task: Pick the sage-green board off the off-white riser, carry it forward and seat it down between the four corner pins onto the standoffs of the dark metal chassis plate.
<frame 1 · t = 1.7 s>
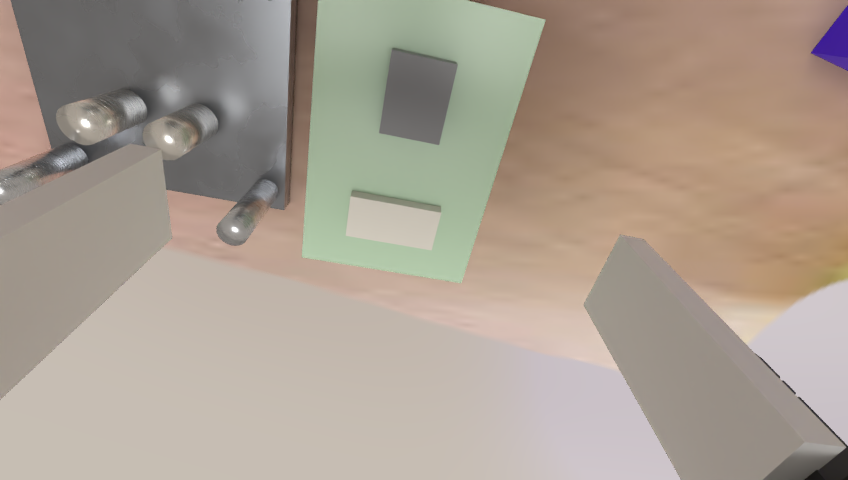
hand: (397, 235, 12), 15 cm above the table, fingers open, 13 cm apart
chassis: (168, 37, 22), on the table
board: (407, 135, 19), point 6 cm above the table, touching riser
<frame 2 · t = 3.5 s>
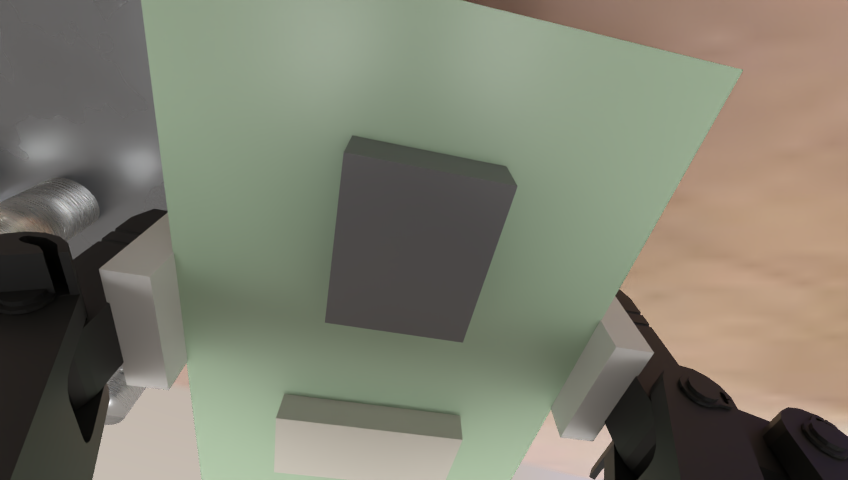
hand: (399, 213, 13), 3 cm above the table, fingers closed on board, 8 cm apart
chassis: (7, 73, 14), on the table
board: (395, 259, 11), point 6 cm above the table, touching gripper, riser
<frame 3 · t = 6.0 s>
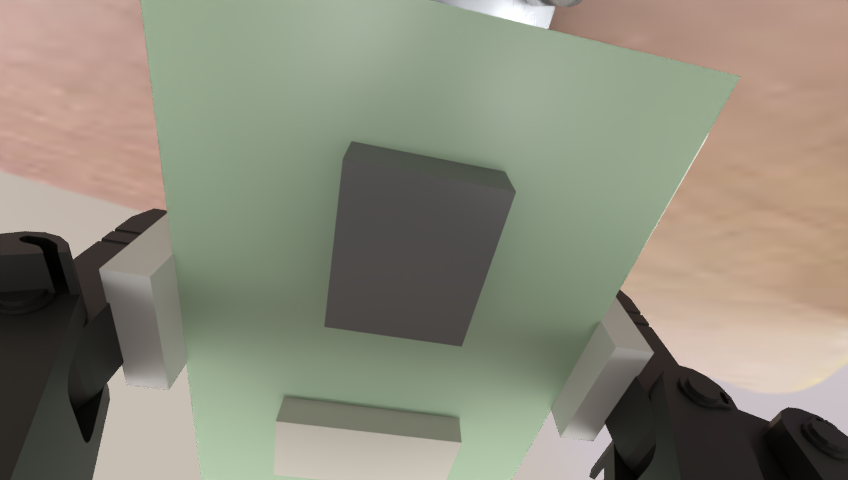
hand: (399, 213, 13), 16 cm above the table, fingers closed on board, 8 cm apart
chassis: (410, 104, 26), on the table
board: (395, 262, 11), point 19 cm above the table, touching gripper
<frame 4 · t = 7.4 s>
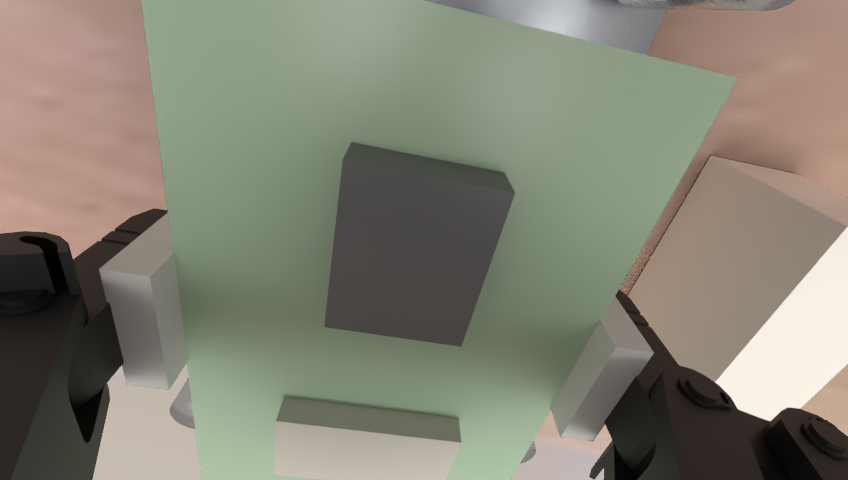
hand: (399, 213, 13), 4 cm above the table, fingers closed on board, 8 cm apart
chassis: (406, 167, 16), on the table
riser: (701, 246, 18), on the table
board: (395, 262, 11), point 7 cm above the table, touching gripper
when the fingers open (3 cm above the table, at t = 8.3 s): board stays where it is, resting on chassis.
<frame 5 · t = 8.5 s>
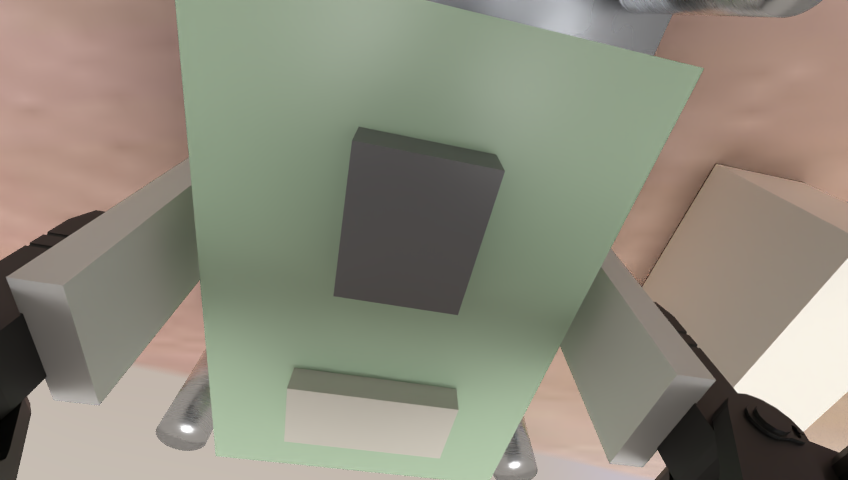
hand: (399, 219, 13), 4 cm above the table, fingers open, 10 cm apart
chassis: (402, 176, 16), on the table
riser: (705, 256, 18), on the table
board: (396, 246, 11), point 5 cm above the table, touching chassis
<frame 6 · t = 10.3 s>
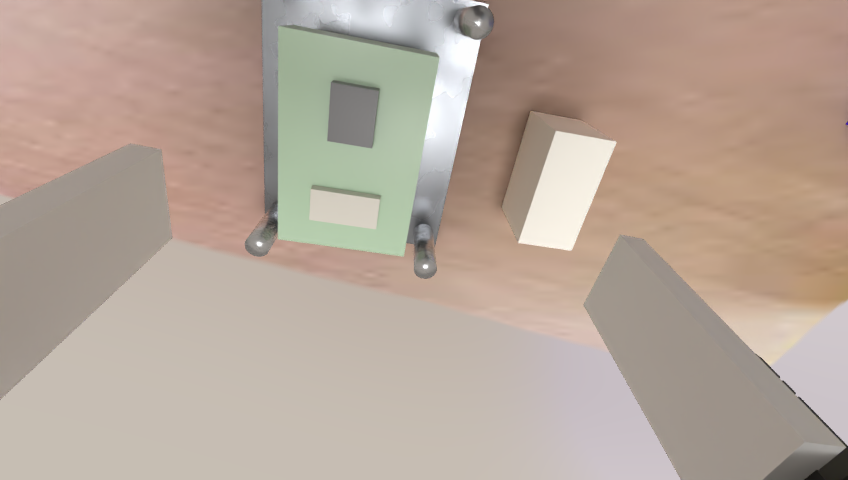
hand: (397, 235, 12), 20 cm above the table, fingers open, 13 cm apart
chassis: (364, 123, 30), on the table
riser: (539, 166, 32), on the table
board: (356, 143, 25), point 5 cm above the table, touching chassis
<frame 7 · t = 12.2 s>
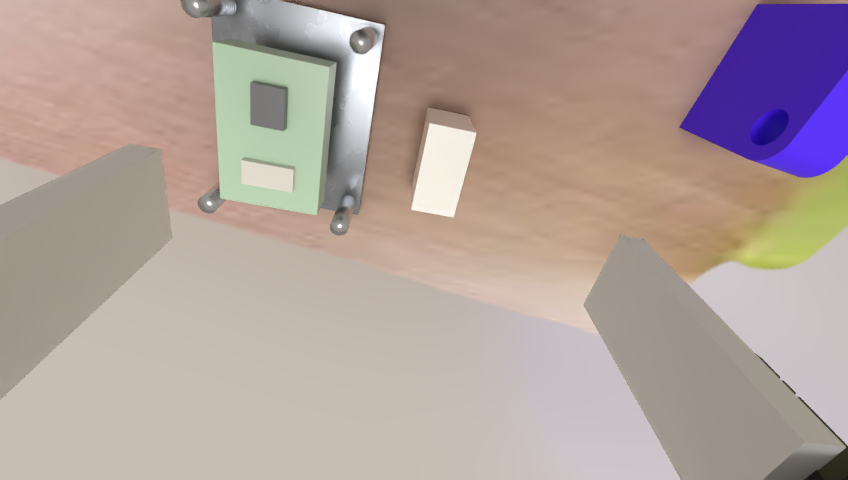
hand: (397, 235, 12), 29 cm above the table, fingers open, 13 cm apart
bracket: (791, 100, 38), on the table
chassis: (297, 112, 38), on the table
riser: (439, 151, 40), on the table
board: (281, 127, 33), point 5 cm above the table, touching chassis
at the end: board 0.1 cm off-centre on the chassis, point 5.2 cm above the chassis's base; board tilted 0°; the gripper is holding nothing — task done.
